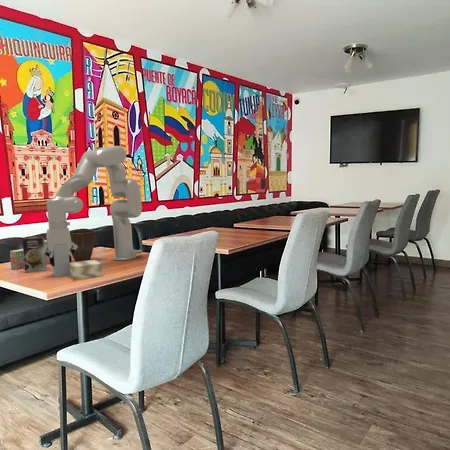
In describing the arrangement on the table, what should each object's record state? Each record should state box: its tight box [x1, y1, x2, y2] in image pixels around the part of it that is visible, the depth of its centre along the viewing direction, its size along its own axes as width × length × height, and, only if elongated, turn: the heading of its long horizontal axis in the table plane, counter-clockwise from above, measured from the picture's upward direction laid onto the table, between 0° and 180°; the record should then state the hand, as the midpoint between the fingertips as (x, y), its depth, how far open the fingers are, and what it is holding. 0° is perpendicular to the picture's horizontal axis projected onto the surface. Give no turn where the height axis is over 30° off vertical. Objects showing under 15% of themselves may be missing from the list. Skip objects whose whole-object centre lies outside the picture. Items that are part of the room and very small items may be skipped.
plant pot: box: [69, 229, 96, 262], centre depth 220 cm, size 15×15×16 cm
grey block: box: [52, 244, 69, 278], centre depth 188 cm, size 6×7×14 cm
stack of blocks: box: [9, 239, 50, 271], centre depth 215 cm, size 21×6×12 cm, turn 144°
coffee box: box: [22, 236, 48, 273], centre depth 201 cm, size 9×6×16 cm
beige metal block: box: [68, 259, 103, 281], centre depth 185 cm, size 12×12×6 cm
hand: (61, 264), depth 189 cm, fingers open, 6 cm apart
